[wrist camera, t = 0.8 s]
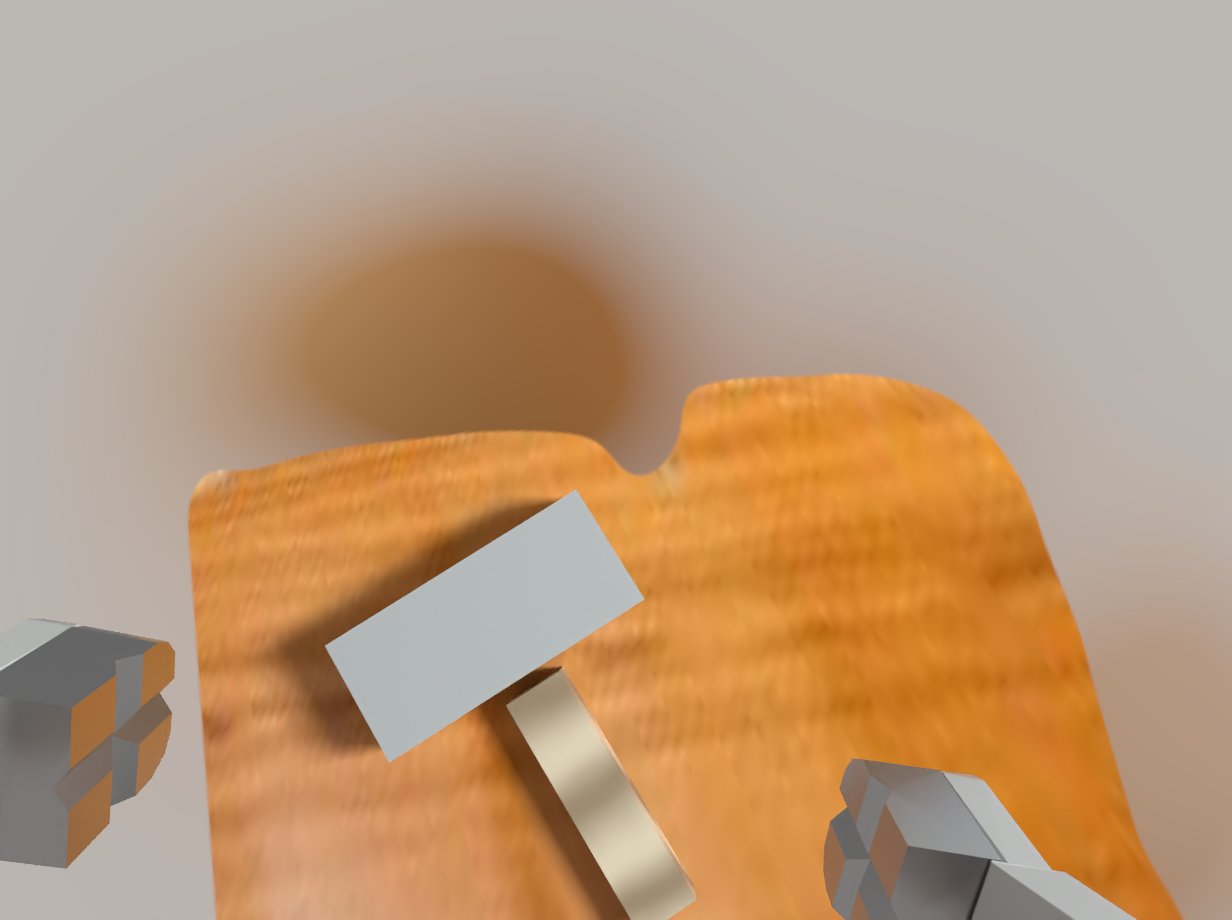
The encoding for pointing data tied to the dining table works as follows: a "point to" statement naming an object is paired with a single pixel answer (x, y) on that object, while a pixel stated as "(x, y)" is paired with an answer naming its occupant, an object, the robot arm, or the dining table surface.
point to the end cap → (483, 624)
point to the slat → (601, 799)
